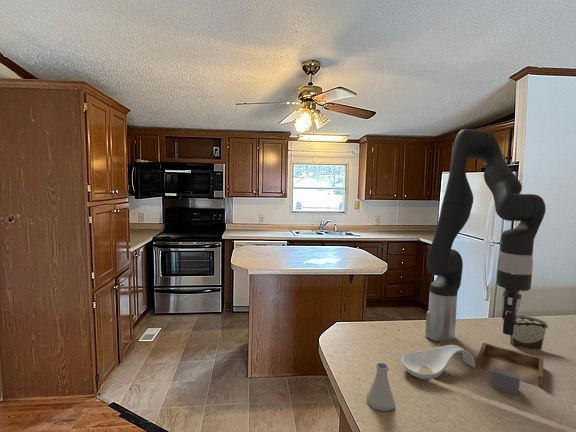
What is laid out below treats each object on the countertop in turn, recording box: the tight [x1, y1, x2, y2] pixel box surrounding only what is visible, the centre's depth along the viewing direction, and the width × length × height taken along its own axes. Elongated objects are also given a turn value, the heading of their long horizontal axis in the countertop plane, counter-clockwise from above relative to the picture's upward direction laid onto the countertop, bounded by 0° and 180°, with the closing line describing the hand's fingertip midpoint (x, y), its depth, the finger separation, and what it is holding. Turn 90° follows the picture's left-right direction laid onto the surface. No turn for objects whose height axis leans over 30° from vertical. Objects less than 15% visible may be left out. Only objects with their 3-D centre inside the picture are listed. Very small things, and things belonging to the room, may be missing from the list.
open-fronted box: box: [475, 342, 544, 388], centre depth 100 cm, size 16×13×4 cm
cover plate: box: [491, 367, 521, 396], centre depth 89 cm, size 12×11×6 cm
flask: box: [366, 361, 396, 412], centre depth 83 cm, size 7×7×10 cm
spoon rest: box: [401, 344, 477, 381], centre depth 99 cm, size 24×12×7 cm, turn 107°
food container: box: [509, 314, 549, 351], centre depth 117 cm, size 12×6×10 cm, turn 84°
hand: (509, 328), depth 88 cm, fingers open, 8 cm apart
